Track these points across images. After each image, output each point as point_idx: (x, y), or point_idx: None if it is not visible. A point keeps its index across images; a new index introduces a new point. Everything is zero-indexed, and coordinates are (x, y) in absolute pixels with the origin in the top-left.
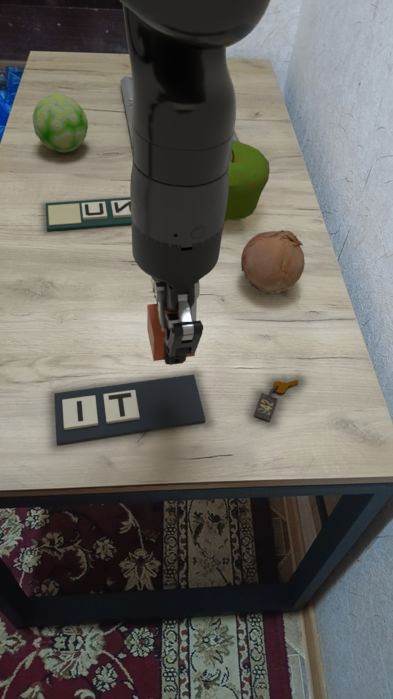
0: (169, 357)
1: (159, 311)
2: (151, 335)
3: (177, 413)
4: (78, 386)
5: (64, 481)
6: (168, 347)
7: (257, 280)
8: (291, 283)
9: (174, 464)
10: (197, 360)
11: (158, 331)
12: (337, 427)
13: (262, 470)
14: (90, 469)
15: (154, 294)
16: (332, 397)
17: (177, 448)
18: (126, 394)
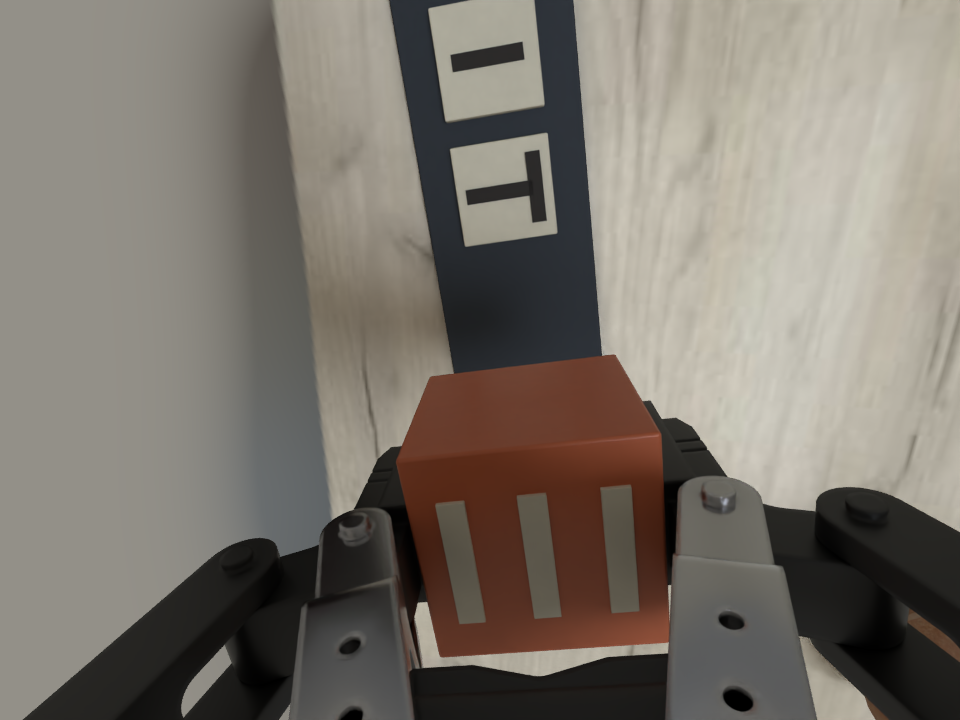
0: (393, 466)
1: (324, 682)
2: (483, 413)
3: (482, 347)
4: (597, 43)
5: (283, 34)
6: (242, 571)
7: None
8: (871, 711)
9: (348, 329)
10: (657, 406)
11: (439, 485)
12: (447, 663)
13: (344, 512)
14: (322, 109)
15: (720, 497)
16: (520, 672)
17: (390, 339)
18: (539, 207)
